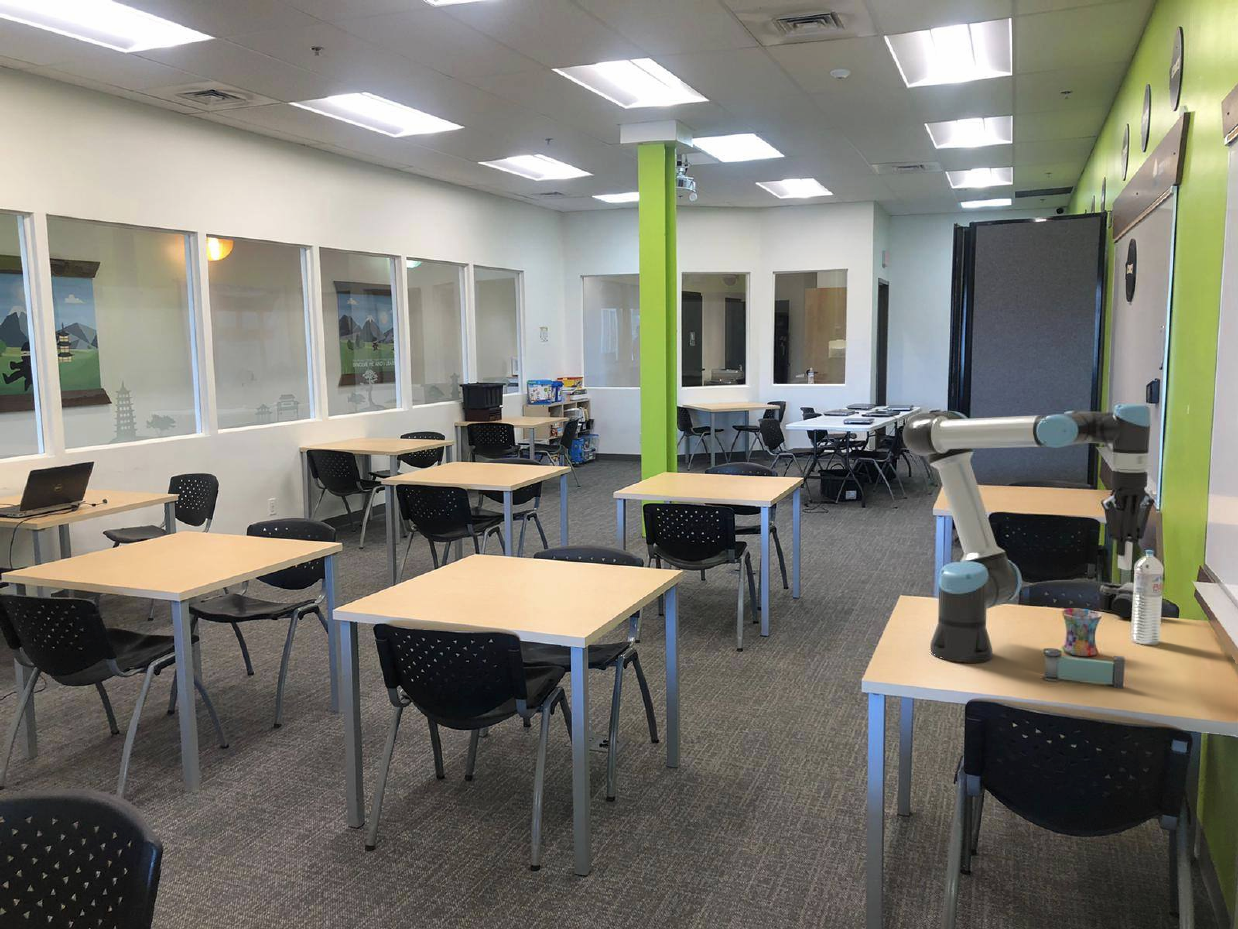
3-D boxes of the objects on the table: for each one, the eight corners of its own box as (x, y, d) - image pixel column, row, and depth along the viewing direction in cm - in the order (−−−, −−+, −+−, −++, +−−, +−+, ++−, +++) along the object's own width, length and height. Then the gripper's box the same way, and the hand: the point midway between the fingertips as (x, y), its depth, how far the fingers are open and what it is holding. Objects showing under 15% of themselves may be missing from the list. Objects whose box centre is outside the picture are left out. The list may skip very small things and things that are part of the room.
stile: (1106, 686, 217) (1108, 657, 216) (1105, 682, 220) (1107, 653, 219) (1123, 688, 216) (1124, 659, 215) (1121, 684, 218) (1123, 655, 218)
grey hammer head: (1042, 680, 221) (1043, 652, 221) (1042, 675, 225) (1043, 647, 224) (1061, 682, 220) (1062, 654, 219) (1060, 677, 224) (1061, 649, 223)
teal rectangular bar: (1044, 678, 222) (1045, 657, 221) (1044, 674, 224) (1045, 653, 224) (1112, 685, 216) (1113, 664, 215) (1111, 681, 219) (1112, 660, 218)
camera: (1091, 615, 275) (1093, 582, 274) (1101, 608, 283) (1103, 576, 282) (1151, 625, 265) (1153, 591, 263) (1160, 617, 272) (1161, 584, 271)
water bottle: (1149, 637, 253) (1154, 547, 250) (1165, 645, 246) (1170, 553, 243) (1125, 638, 253) (1129, 548, 250) (1139, 646, 246) (1144, 553, 243)
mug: (1090, 661, 235) (1092, 620, 234) (1053, 652, 242) (1055, 612, 241) (1110, 651, 242) (1112, 611, 241) (1074, 643, 250) (1076, 604, 248)
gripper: (1116, 473, 213) (1111, 574, 216) (1165, 471, 216) (1160, 570, 218) (1093, 469, 220) (1089, 567, 223) (1141, 467, 223) (1136, 563, 226)
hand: (1124, 568), depth 221 cm, fingers closed
